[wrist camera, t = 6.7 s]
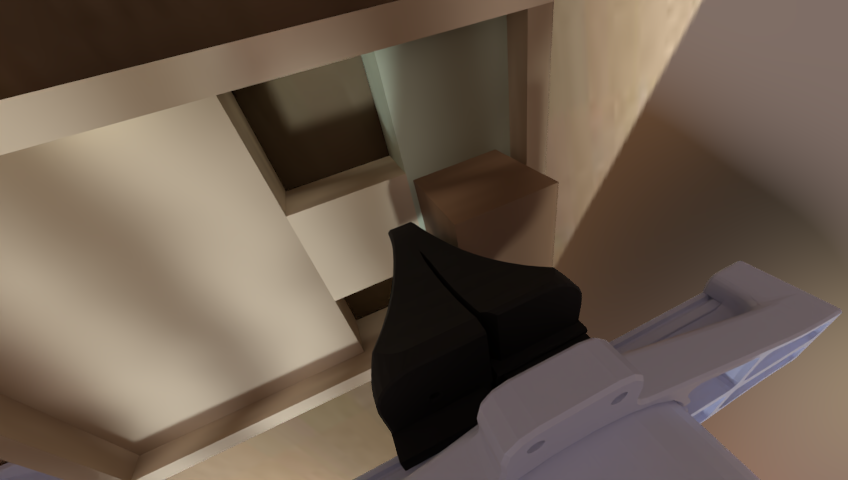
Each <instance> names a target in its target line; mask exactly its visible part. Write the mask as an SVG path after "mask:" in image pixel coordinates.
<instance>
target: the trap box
mask: <svg viewBox="0 0 848 480" xmlns="http://www.w3.org/2000/svg"><path fill="white" fill-rule="evenodd" d="M553 7H554V0H398V1H394V2H390V3H386V4H382V5H378V6H374V7H370V8H366V9H362V10H358V11H354V12H350V13H346V14H342V15H338V16H334V17H330V18H326V19H322V20H318V21H314V22H310V23H306V24H302V25H298V26H294V27H290V28H286V29H282V30H278V31H274V32H270V33H266V34H262V35H258V36H254V37H250V38H246V39H242V40H238V41H234V42H230V43H226V44H222V45H218V46H214V47H210V48H206V49H202V50H198V51H194V52H190V53H186V54H182V55H178V56H174V57H170V58H166V59H162V60H158V61H154V62H150V63H146V64H142V65H138V66H134V67H130V68H126V69H122V70H118V71H114V72H110V73H106V74H102V75H98V76H94V77H90V78H86V79H82V80H78V81H74V82H70V83H66V84H62V85H58V86H54V87H50V88H46V89H42V90H38V91H34V92H30V93H26V94H22V95H18V96H14V97H10V98H6V99H2V100H0V459H1V460H4V461H7V462H10V463H13V464H16V465H19V466H23V467H26V468H29V469H32V470H35V471H38V472H41V473H44V474H48V475H51V476H54V477H57V478H60V479H63V480H165V479H167V478H169V477H171V476H173V475H175V474H177V473H179V472H181V471H183V470H185V469H187V468H190V467H192V466H194V465H196V464H198V463H200V462H202V461H204V460H206V459H208V458H210V457H212V456H215V455H217V454H219V453H221V452H223V451H225V450H227V449H229V448H231V447H233V446H235V445H237V444H240V443H242V442H244V441H246V440H248V439H250V438H252V437H254V436H256V435H258V434H260V433H262V432H265V431H267V430H269V429H271V428H273V427H275V426H277V425H279V424H281V423H283V422H285V421H287V420H290V419H292V418H294V417H296V416H298V415H300V414H302V413H304V412H306V411H308V410H310V409H312V408H315V407H317V406H319V405H321V404H323V403H325V402H327V401H329V400H331V399H333V398H335V397H337V396H340V395H342V394H344V393H346V392H348V391H350V390H352V389H354V388H356V387H358V386H360V385H362V384H365V383H367V382H369V381H371V360H372V351H373V349H374V346H375V344H376V342H377V339H378V337H379V334H380V332H381V329H382V326H383V323H384V319H385V316H386V313H387V309H388V307H386V308H384V309H381V310H379V311H377V312H375V313H372V314H370V315H368V316H365V317H363V318H361V319H359V320H356V319H355V317H354V316H353V314H352V312H351V310H350V308H349V306H348V305H347V303H346V301H345V299H344V297H346V296H348V295H351V294H353V293H355V292H358V291H360V290H362V289H365V288H367V287H370V286H372V285H374V284H377V283H379V282H381V281H384V280H386V279H388V278H391V277H393V248H392V243H391V240H390V238H389V235H388V232H389V231H390V230H391V229H394V228H396V227H399V226H401V225H404V224H406V223H409V222H412V223H414V224H416V225H417V226H419V227H420V228H422V229H424V230H425V231H426V229H425V225H424V221H423V217H422V213H421V209H420V205H419V201H418V197H417V193H416V189H415V185H414V182H413V180H415V179H417V178H420V177H423V176H426V175H428V174H431V173H434V172H436V171H439V170H442V169H444V168H447V167H450V166H452V165H455V164H458V163H460V162H463V161H466V160H468V159H471V158H474V157H476V156H479V155H482V154H484V153H487V152H490V151H492V150H495V149H496V150H498V151H499V152H501V153H503V154H505V155H507V156H509V157H511V158H513V159H515V160H517V161H519V162H521V163H523V164H525V165H526V166H528V167H530V168H532V169H534V170H536V171H538V172H540V173H542V174H544V175H545V170H546V150H547V129H548V109H549V88H550V68H551V48H552V27H553ZM359 55H361V57H362V60H363V64H364V68H365V71H366V75H367V78H368V82H369V85H370V89H371V92H372V96H373V99H374V103H375V106H376V110H377V113H378V117H379V120H380V124H381V127H382V131H383V134H384V138H385V142H386V145H387V149H388V152H389V156H387V157H384V158H381V159H378V160H375V161H372V162H369V163H366V164H364V165H361V166H358V167H355V168H352V169H349V170H346V171H343V172H340V173H337V174H335V175H332V176H329V177H326V178H323V179H320V180H317V181H314V182H311V183H309V184H306V185H303V186H300V187H297V188H294V189H291V190H288V191H285V189H284V187H283V185H282V183H281V182H280V180H279V178H278V176H277V174H276V172H275V171H274V169H273V167H272V165H271V163H270V161H269V160H268V158H267V156H266V154H265V152H264V150H263V149H262V147H261V145H260V143H259V141H258V139H257V138H256V136H255V134H254V132H253V130H252V128H251V127H250V125H249V123H248V121H247V119H246V117H245V116H244V114H243V112H242V110H241V108H240V106H239V105H238V103H237V101H236V99H235V97H234V95H233V94H232V92H231V91H234V90H237V89H241V88H244V87H248V86H251V85H255V84H259V83H262V82H266V81H269V80H273V79H277V78H280V77H284V76H287V75H291V74H295V73H298V72H302V71H305V70H309V69H313V68H316V67H320V66H323V65H327V64H331V63H334V62H338V61H341V60H345V59H349V58H352V57H356V56H359Z"/></svg>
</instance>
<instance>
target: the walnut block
mask: <svg viewBox="0 0 848 480" xmlns="http://www.w3.org/2000/svg"><path fill="white" fill-rule="evenodd" d="M413 182H414V185H415V189H416V193H417V197H418V201H419V205H420V209H421V213H422V217H423V221H424V225H425V229H426V231H427V232H429V233H430V234H432V235H434V236H435V237H437V238H439V239H441V240H443V241H445V242H447V243H449V244H451V245H453V246H455V247H458V248H460V249H462V250H465V251H467V252H470V253H473V254H476V255H479V256H483V257H486V258H490V259H494V260H499V261H503V262H508V263H514V264H521V265H528V266H541V267H551V266H553V253H554V239H555V226H556V212H557V198H558V184H559V182H557V181H555V180H553V179H552V178H550V177H548V176H546V175H544V174H542V173H540V172H538V171H536V170H534V169H532V168H530V167H528V166H526V165H525V164H523V163H521V162H519V161H517V160H515V159H513V158H511V157H509V156H507V155H505V154H503V153H501V152H499V151H498V150H496V149H495V150H492V151H490V152H487V153H484V154H482V155H479V156H476V157H474V158H471V159H468V160H466V161H463V162H460V163H458V164H455V165H452V166H450V167H447V168H444V169H442V170H439V171H436V172H434V173H431V174H428V175H426V176H423V177H420V178H417V179H415V180H413Z"/></svg>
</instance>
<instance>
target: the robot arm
mask: <svg viewBox="0 0 848 480" xmlns="http://www.w3.org/2000/svg"><path fill="white" fill-rule="evenodd" d="M388 235H389V238H390V240H391V243H392V248H393V281H392V289H391V295H390V300H389V305H388V309H387V313H386V316H385V319H384V323H383V326H382V329H381V332H380V334H379V337H378V339H377V342H376V344H375V346H374V349H373V351H372V360H371V383H372V392H373V397H374V400H375V404H376V408H377V411H378V414H379V415H380V417H381V418H382V420H383V421H384V423H385V424H386V426H387V427H388V429H389V430H390V431H391V433H392V436H393V440H394V444H395V447H396V451H397V455H398V456H396V457H394V458H392V459H391V460H389V461H387V462H385V463H383V464H381V465H379V466H377V467H376V468H374V469H372V470H370V471H368V472H366V473H364V474H363V475H361V476H359V477H357V478H355V479H353V480H760V479H759V478H758V477H757V476H756V475H755V474H754V473H753V472H752V471H751V470H749V469H748V468H747V467H746V466H745V465H744V464H743V463H742V462H741V461H740V460H739V459H737V458H736V457H735V456H734V455H733V454H732V453H731V452H730V451H729V450H728V449H727V448H725V446H723V445H722V444H721V443H720V442H719V441H718V440H717V439H716V438H715V437H714V436H713V435H712V434H710V433H709V432H708V431H707V430H706V429H705V428H704V427H703V426H702V425H701V423H702V422H704V421H705V420H706V419H708V418H709V417H711V416H712V415H713V414H715V413H716V412H718V411H719V410H720V409H722V408H723V407H725V406H726V405H728V404H729V403H730V402H732V401H733V400H734V399H736V398H737V397H739V396H740V395H742V394H743V393H744V392H746V391H747V390H749V389H750V388H752V387H753V386H755V385H756V384H758V383H759V382H760V381H762V380H763V379H765V378H766V377H768V376H769V375H771V374H772V373H774V372H775V371H777V370H779V369H780V368H782V367H783V366H785V365H786V364H788V363H789V362H791V361H792V360H794V359H795V358H796V357H797V356H798V355H799V354H800V353H801V352H802V351H803V350H804V349H805V348H806V347H808V345H809V344H811V342H813V341H814V340H815V339H816V338H817V337H818V336H819V335H820V334H821V333H822V332H823V331H824V330H825V329H826V328H827V327H828V326H829V325H830V324H831V323H832V322H833V321H834V320H835V319H836V318H837V317H838V316H839V315H840V314H841V313H842V311H841V309H840V308H838V307H836V306H834V305H831V304H830V303H828V302H826V301H823V300H821V299H819V298H817V297H815V296H813V295H811V294H809V293H807V292H805V291H803V290H801V289H799V288H797V287H794V286H792V285H790V284H788V283H786V282H784V281H782V280H780V279H778V278H776V277H774V276H772V275H770V274H768V273H766V272H764V271H762V270H759V269H757V268H755V267H753V266H751V265H749V264H747V263H745V262H743V261H738V262H736V263H734V264H732V265H730V266H728V267H726V268H724V269H722V270H720V271H718V272H717V273H716V274H714V275H713V276H712V277H711V278H710V279H709V280H708V281H707V283H706V285H705V287H704V290H703V292H702V293H700V294H699V295H697V296H695V297H693V298H691V299H689V300H688V301H685V302H684V303H682V304H680V305H678V306H676V307H674V308H672V309H671V310H669V311H667V312H665V313H663V314H661V315H659V316H657V317H656V318H654V319H652V320H650V321H648V322H646V323H644V324H643V325H641V326H639V327H637V328H635V329H633V330H631V331H630V332H628V333H626V334H624V335H622V336H620V337H618V338H617V339H615V340H613V341H611V342H607V341H606V340H603V339H599V338H590V337H589V336H588V335H587V334H586V332H587V328H586V327H585V326H584V325H583V324H582V323H581V322H580V321H579V320H578V318H579V313H580V308H581V300H582V293H581V291H580V289H579V287H578V286H576V285H575V284H574V283H573V282H572V281H571V280H570V279H568V278H567V277H566V276H565V275H563V274H562V273H561V272H559V271H558V270H556V269H555V268H553V267H541V266H528V265H521V264H514V263H508V262H503V261H499V260H494V259H490V258H486V257H483V256H479V255H476V254H473V253H470V252H467V251H465V250H462V249H460V248H458V247H455V246H453V245H451V244H449V243H447V242H445V241H443V240H441V239H439V238H437V237H435V236H434V235H432V234H430V233H429V232H427V231H425V230H424V229H422V228H420V227H419V226H417V225H416V224H414V223H412V222H409V223H406V224H404V225H401V226H399V227H396V228H394V229H391V230H390V231H389V232H388ZM0 480H63V479H60V478H57V477H54V476H51V475H48V474H44V473H41V472H38V471H35V470H32V469H29V468H26V467H23V466H19V465H16V464H13V463H10V462H8V463H6V464H3V465H1V466H0Z"/></svg>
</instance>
